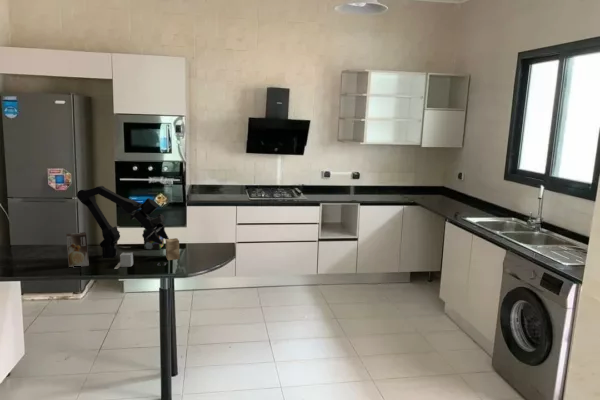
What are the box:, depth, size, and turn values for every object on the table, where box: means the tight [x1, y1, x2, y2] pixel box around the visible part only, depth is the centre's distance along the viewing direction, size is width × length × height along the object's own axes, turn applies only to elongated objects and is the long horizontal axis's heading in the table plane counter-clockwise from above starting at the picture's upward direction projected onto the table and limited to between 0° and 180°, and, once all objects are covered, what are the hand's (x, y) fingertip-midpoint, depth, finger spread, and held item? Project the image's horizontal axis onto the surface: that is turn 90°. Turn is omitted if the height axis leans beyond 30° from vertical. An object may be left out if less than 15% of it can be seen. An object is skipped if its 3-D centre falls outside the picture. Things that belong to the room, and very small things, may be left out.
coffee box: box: [65, 232, 90, 268], centre depth 237 cm, size 9×6×16 cm
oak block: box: [165, 238, 181, 261], centre depth 252 cm, size 6×6×10 cm
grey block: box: [119, 251, 134, 268], centre depth 238 cm, size 5×5×6 cm
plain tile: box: [114, 262, 121, 270], centre depth 238 cm, size 10×10×1 cm
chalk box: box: [142, 228, 165, 250], centre depth 274 cm, size 9×9×15 cm
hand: (165, 241), depth 251 cm, fingers open, 9 cm apart
